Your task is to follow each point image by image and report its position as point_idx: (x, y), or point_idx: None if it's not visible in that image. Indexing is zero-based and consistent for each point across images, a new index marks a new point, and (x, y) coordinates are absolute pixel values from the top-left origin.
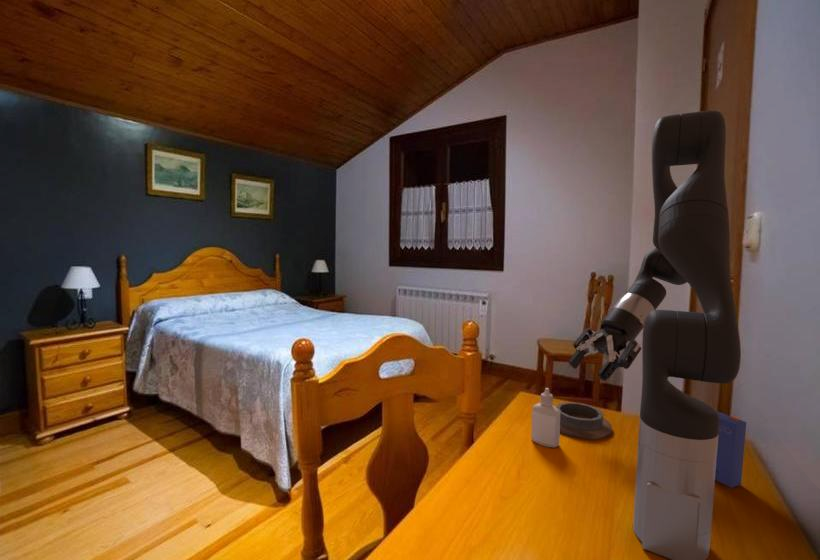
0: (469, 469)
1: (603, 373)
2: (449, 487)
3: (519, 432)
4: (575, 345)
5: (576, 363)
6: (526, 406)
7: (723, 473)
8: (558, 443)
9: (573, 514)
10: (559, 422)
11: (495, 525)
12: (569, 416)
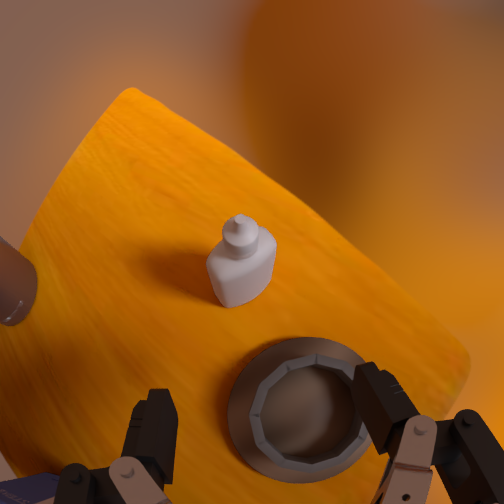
0: (200, 144)
1: (145, 404)
2: (175, 121)
3: (296, 257)
4: (456, 421)
5: (361, 401)
6: (419, 335)
7: (45, 477)
8: (219, 300)
9: (75, 218)
10: (215, 285)
11: (105, 144)
12: (286, 367)
